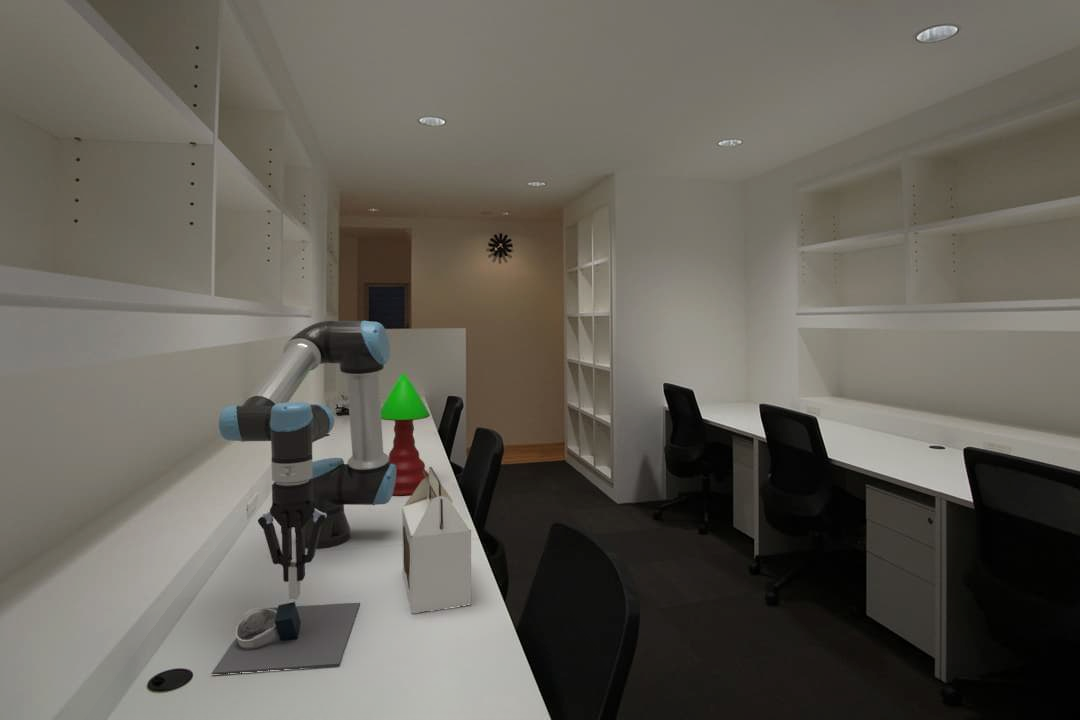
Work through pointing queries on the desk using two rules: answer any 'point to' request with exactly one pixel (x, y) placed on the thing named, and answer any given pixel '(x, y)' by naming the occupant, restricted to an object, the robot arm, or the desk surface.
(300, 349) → the robot arm
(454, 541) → the gable box
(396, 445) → the table lamp
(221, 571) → the desk surface
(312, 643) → the rubber mat
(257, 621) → the watch
